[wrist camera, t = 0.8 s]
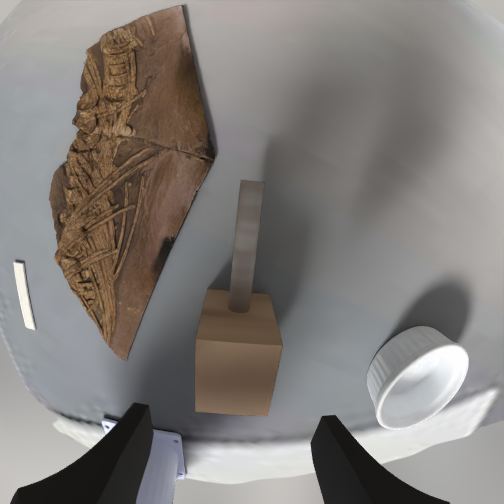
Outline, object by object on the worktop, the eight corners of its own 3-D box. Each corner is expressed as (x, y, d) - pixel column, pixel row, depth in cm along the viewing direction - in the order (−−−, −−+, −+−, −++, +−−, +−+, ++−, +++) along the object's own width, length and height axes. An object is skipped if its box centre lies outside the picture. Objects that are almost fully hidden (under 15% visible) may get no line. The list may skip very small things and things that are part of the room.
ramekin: (346, 403, 22) (361, 437, 18) (379, 317, 20) (406, 348, 15) (420, 393, 23) (439, 420, 18) (456, 318, 20) (484, 340, 16)
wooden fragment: (109, 9, 13) (103, 3, 12) (256, 18, 14) (257, 10, 13) (54, 330, 19) (48, 336, 18) (175, 369, 20) (172, 377, 19)
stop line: (36, 329, 19) (35, 330, 18) (27, 326, 18) (25, 327, 18) (24, 263, 17) (22, 264, 17) (14, 261, 17) (13, 262, 17)
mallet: (259, 356, 20) (267, 415, 14) (204, 351, 19) (195, 411, 14) (284, 184, 17) (308, 190, 11) (216, 176, 16) (205, 178, 11)
